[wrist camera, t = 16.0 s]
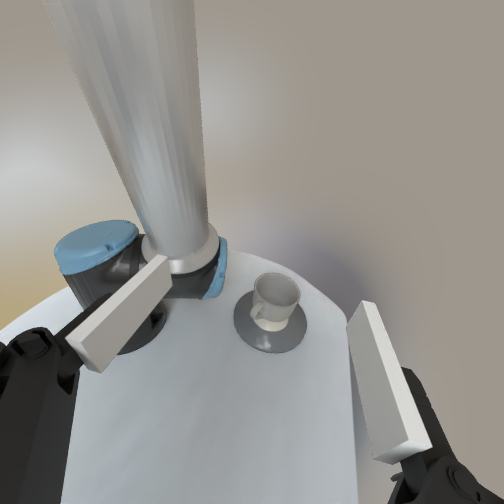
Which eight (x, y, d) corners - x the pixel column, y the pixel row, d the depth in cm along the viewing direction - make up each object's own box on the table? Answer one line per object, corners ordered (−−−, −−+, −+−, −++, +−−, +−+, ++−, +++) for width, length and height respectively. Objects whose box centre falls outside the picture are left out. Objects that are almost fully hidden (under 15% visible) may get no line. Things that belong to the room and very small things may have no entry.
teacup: (272, 289, 57) (277, 267, 52) (302, 315, 50) (310, 292, 45) (232, 310, 49) (233, 287, 44) (260, 345, 42) (265, 321, 38)
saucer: (220, 308, 50) (220, 305, 50) (272, 283, 60) (273, 280, 60) (265, 370, 39) (265, 367, 38) (320, 327, 49) (322, 324, 48)
